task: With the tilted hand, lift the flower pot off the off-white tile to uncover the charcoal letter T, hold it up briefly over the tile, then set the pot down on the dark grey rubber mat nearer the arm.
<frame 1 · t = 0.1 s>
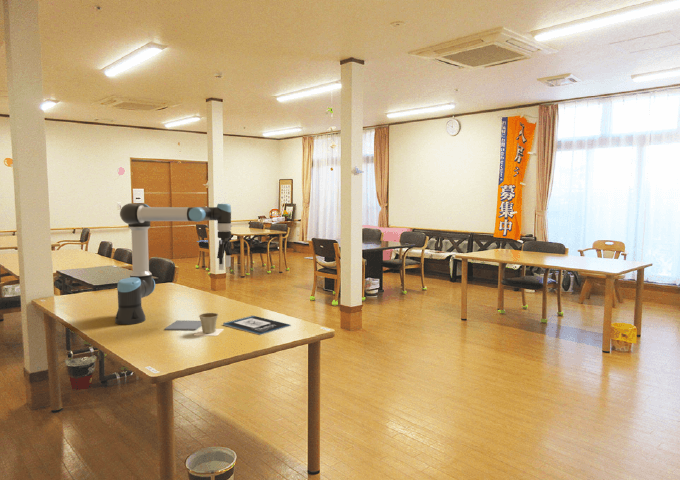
hand: (224, 268, 260), 28 cm above the table, tool pointing down, fingers open, 13 cm apart
rubber mat: (185, 325, 242), on the table
sketchbook: (256, 326, 243), on the table
letter tile: (208, 332, 230), on the table
flower pot: (208, 332, 230), resting on letter tile
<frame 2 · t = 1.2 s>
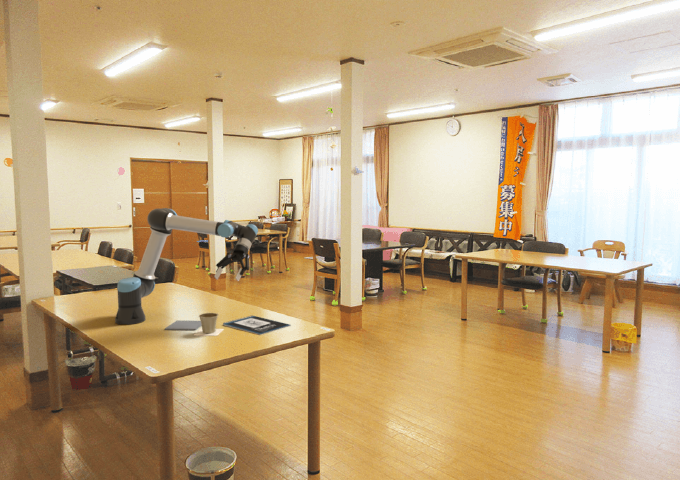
hand: (226, 278, 242), 25 cm above the table, tool tilted 45°, fingers open, 13 cm apart
nothing on the table moved.
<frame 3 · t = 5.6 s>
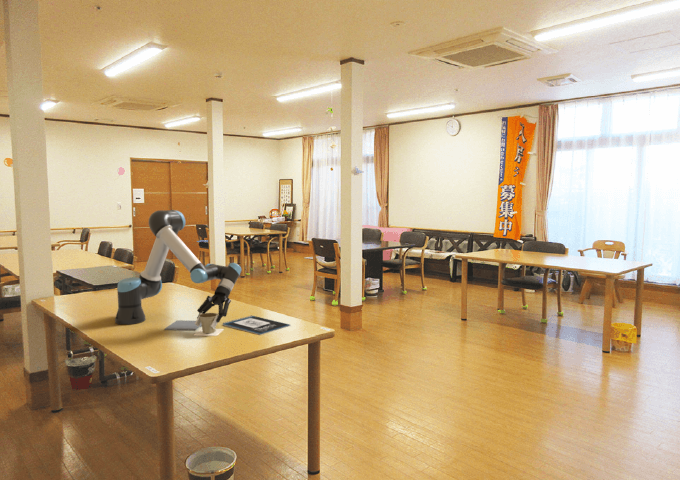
hand: (204, 326, 227), 4 cm above the table, tool tilted 45°, fingers closed on flower pot, 9 cm apart
flower pot: (209, 332, 230), resting on letter tile, touching gripper
everything else where it was.
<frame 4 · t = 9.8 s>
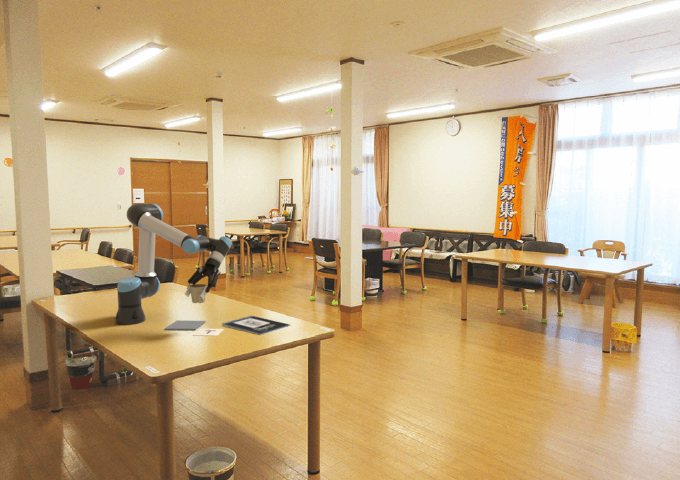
hand: (194, 296, 232), 18 cm above the table, tool tilted 45°, fingers closed on flower pot, 9 cm apart
flower pot: (198, 302, 235), point 14 cm above the table, touching gripper
everything else where it was.
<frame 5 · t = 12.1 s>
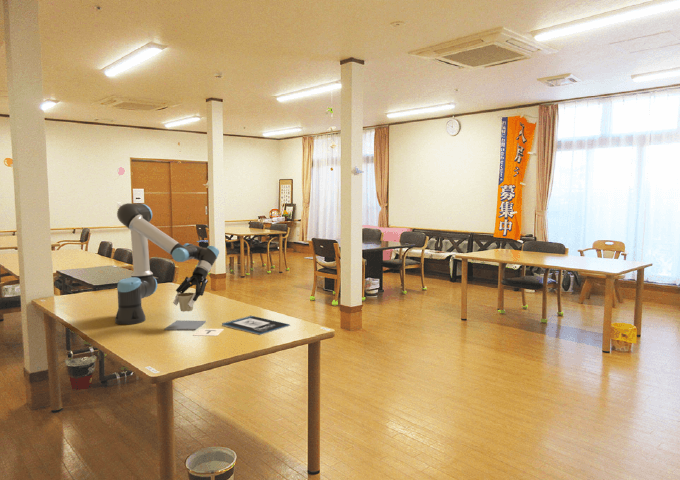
hand: (182, 304, 238), 12 cm above the table, tool tilted 45°, fingers closed on flower pot, 9 cm apart
flower pot: (186, 310, 241), point 8 cm above the table, touching gripper
everything else where it was.
when the fingers open (6 cm above the table, at t = 14.0 s): flower pot drops 2 cm, resting on rubber mat.
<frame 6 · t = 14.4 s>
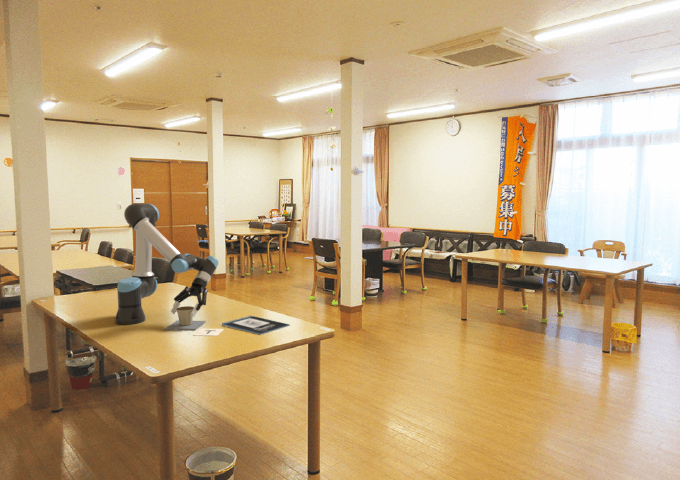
hand: (182, 314, 239), 7 cm above the table, tool tilted 45°, fingers open, 13 cm apart
flower pot: (185, 324, 242), point 1 cm above the table, touching rubber mat
everything else where it was.
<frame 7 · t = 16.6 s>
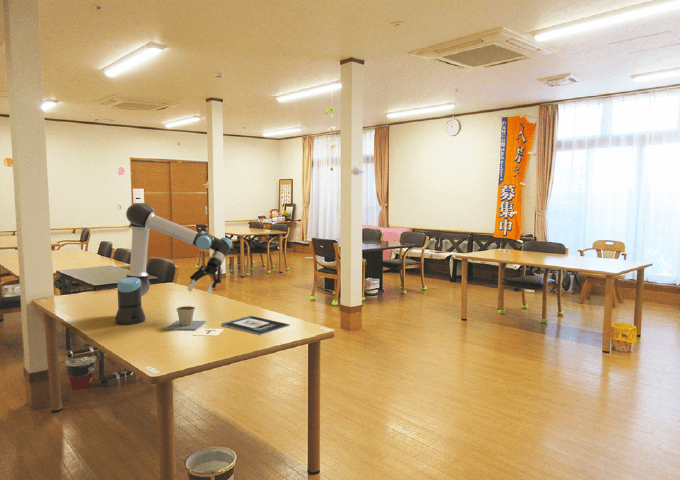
hand: (198, 291, 250), 17 cm above the table, tool tilted 45°, fingers open, 13 cm apart
nothing on the table moved.
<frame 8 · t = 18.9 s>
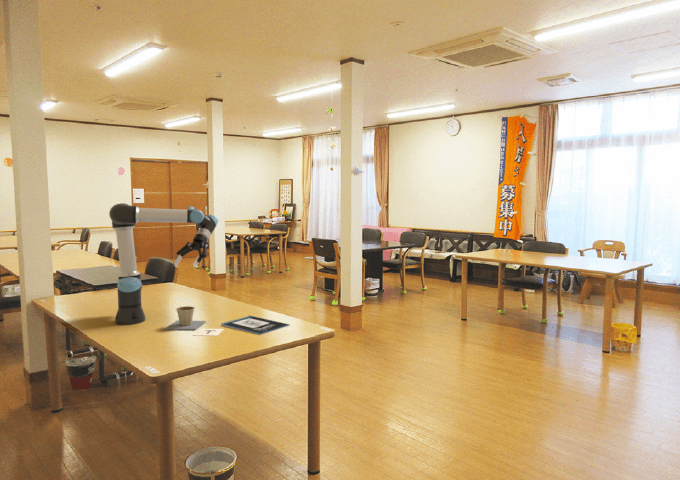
hand: (184, 265, 258), 30 cm above the table, tool tilted 45°, fingers open, 13 cm apart
nothing on the table moved.
at the end: flower pot inside the target area on the rubber mat (0.1 cm from its centre), point 0.6 cm above the rubber mat's base; flower pot tilted 0°; the gripper is holding nothing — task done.
